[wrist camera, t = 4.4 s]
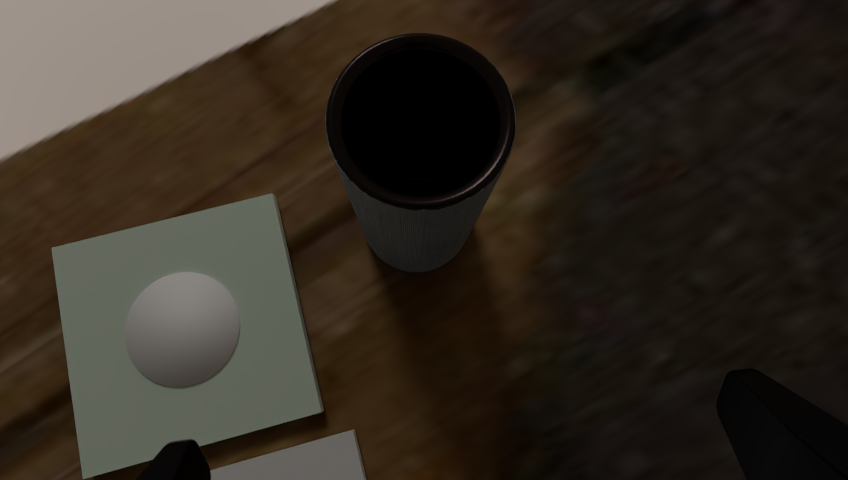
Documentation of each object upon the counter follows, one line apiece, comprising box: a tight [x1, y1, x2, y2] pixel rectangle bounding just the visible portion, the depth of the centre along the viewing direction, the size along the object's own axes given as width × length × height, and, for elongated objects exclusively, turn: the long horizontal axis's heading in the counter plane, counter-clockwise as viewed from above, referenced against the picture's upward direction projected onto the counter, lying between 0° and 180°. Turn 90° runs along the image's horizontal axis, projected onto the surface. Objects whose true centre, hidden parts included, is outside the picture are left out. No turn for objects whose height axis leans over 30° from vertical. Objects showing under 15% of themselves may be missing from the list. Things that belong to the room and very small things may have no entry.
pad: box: [52, 193, 324, 479], centre depth 21 cm, size 9×9×1 cm
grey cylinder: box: [325, 33, 516, 272], centre depth 17 cm, size 4×4×10 cm
